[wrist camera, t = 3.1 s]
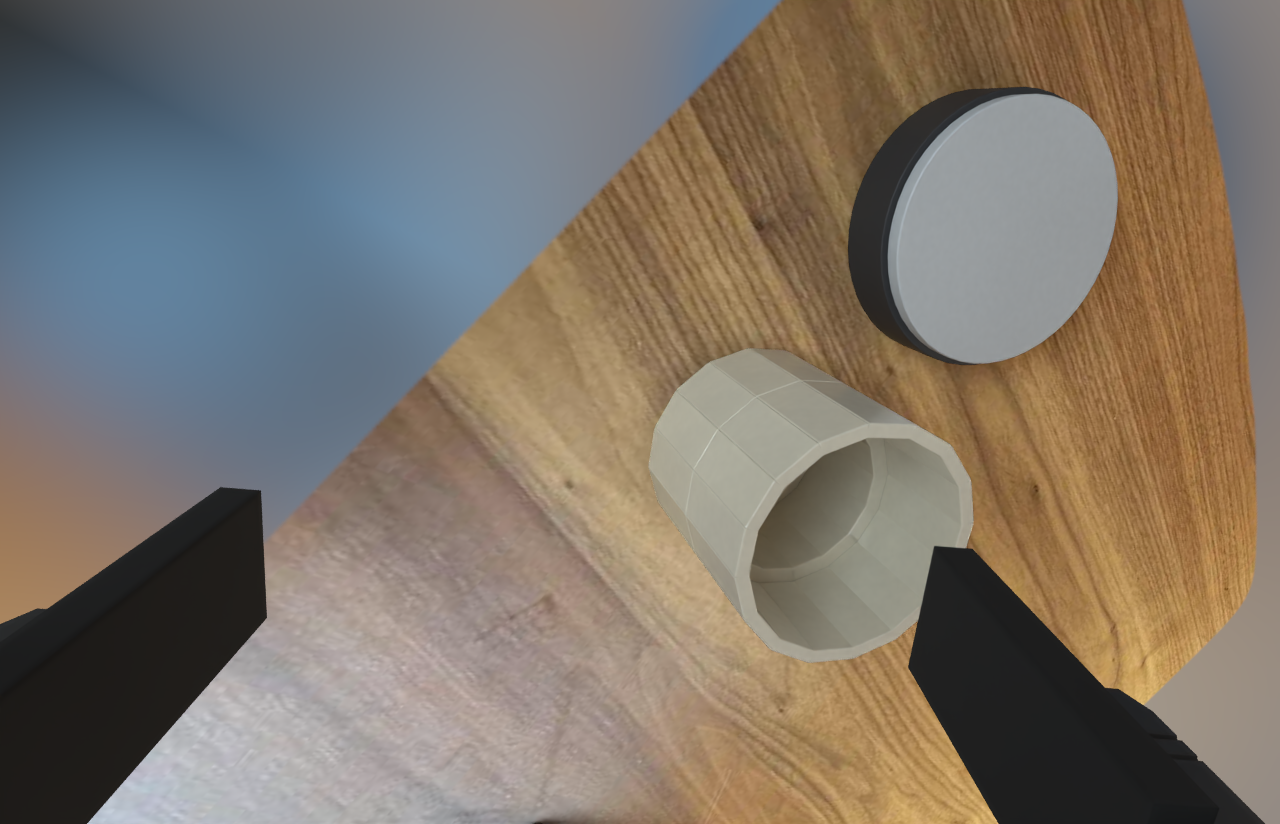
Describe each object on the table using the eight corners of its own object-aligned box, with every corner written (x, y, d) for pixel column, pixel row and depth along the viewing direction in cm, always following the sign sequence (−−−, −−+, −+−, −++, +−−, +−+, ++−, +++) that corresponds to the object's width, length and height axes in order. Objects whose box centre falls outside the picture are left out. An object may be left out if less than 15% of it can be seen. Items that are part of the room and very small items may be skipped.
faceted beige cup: (661, 337, 36) (767, 420, 26) (849, 350, 39) (1004, 427, 30) (631, 534, 39) (715, 672, 29) (807, 529, 43) (934, 652, 33)
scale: (884, 66, 35) (935, 61, 32) (1096, 112, 39) (1160, 111, 36) (822, 342, 39) (862, 363, 36) (1020, 356, 43) (1072, 376, 40)
